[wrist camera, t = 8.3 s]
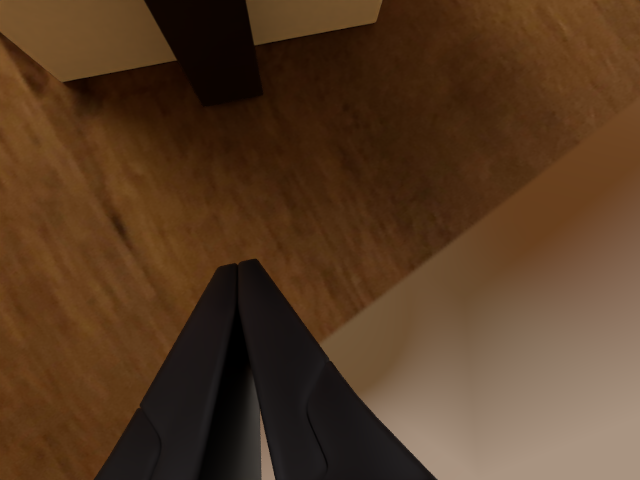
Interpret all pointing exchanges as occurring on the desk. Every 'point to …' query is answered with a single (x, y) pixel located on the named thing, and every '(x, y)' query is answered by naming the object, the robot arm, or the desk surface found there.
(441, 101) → the desk surface
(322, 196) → the desk surface
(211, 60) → the cake knife
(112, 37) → the loaf cake
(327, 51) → the desk surface
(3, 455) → the desk surface
